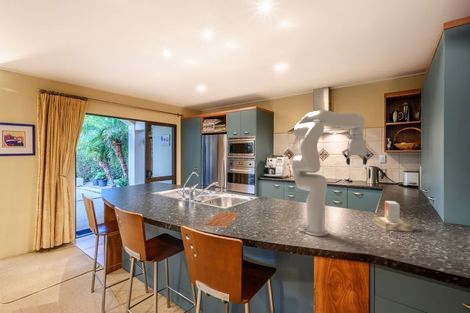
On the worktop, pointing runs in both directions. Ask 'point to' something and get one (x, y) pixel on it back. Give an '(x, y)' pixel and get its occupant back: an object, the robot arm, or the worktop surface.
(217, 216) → the wooden cutting board
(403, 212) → the worktop surface
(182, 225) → the worktop surface
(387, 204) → the small box
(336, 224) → the worktop surface
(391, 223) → the maple plinth
